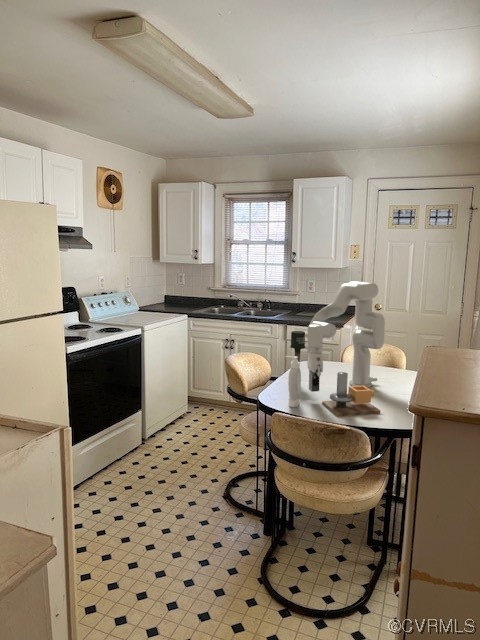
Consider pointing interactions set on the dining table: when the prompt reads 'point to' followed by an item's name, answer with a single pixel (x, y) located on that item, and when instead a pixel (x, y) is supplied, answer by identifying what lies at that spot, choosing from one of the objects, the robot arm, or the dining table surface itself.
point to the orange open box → (361, 394)
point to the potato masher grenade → (298, 342)
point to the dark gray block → (311, 387)
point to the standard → (341, 391)
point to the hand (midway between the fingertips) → (314, 383)
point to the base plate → (351, 408)
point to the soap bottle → (294, 382)
